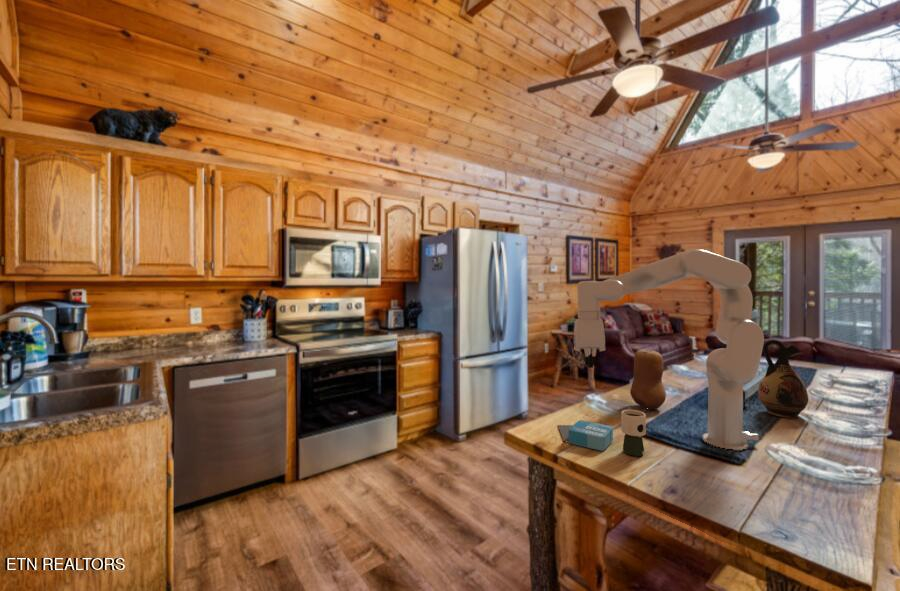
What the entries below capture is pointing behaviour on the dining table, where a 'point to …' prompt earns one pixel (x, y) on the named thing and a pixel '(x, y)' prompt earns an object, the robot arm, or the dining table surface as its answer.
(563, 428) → the mat
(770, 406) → the ceramic jug
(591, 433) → the data package
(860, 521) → the dining table surface
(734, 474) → the dining table surface
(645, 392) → the butternut squash
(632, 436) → the character mug
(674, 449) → the dining table surface
